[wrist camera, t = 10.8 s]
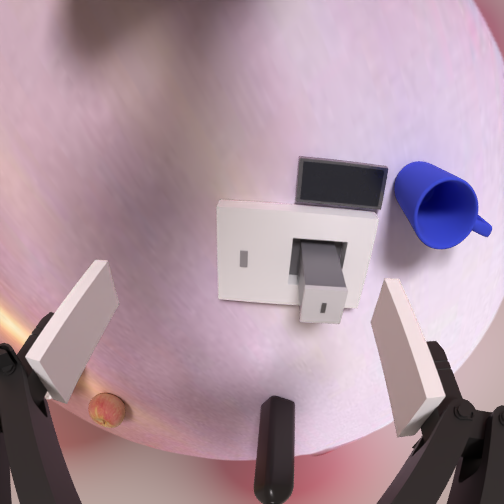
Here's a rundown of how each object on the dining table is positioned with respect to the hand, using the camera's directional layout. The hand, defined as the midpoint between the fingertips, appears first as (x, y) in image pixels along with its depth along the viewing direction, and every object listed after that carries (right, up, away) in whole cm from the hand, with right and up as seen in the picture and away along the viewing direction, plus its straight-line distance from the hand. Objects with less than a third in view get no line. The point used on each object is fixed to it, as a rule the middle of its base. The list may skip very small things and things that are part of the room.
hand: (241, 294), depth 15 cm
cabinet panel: (+6, +2, +29) cm, 30 cm away
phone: (+11, +11, +24) cm, 28 cm away
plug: (+9, +1, +29) cm, 30 cm away
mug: (+23, +10, +23) cm, 34 cm away
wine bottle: (+6, -29, +47) cm, 56 cm away
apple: (-33, -33, +53) cm, 71 cm away
